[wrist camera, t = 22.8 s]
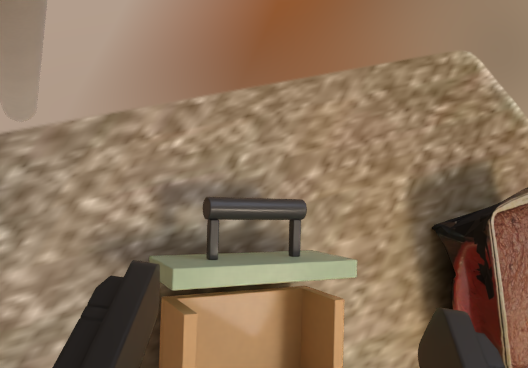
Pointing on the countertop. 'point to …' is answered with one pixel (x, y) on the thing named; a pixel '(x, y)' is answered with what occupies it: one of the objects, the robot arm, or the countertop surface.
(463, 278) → the baking dish
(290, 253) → the drawer
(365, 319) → the countertop surface
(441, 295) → the countertop surface
